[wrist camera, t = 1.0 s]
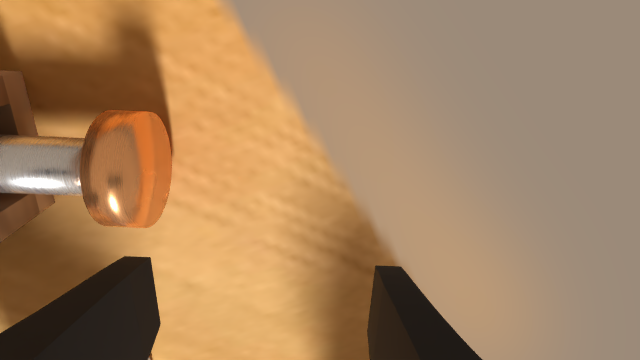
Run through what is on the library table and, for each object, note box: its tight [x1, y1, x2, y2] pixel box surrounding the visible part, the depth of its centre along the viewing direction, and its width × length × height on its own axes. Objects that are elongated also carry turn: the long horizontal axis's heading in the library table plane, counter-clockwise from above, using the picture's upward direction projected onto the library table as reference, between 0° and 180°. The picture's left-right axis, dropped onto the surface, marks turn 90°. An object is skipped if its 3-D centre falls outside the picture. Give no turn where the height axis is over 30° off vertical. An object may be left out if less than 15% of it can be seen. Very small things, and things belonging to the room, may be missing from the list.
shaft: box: [0, 110, 172, 228], centre depth 16 cm, size 11×5×5 cm, turn 87°
